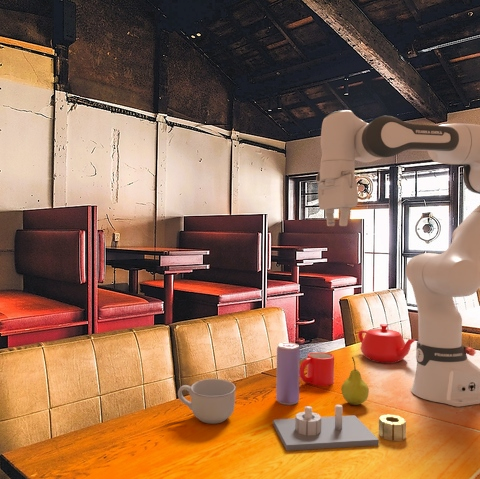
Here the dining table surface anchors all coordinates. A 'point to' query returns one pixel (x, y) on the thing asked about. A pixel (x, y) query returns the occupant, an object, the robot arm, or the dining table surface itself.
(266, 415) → the dining table surface
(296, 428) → the gear board
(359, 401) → the fruit
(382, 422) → the brass gear
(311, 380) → the mug
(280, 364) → the beverage can
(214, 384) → the teacup
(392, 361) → the teapot
